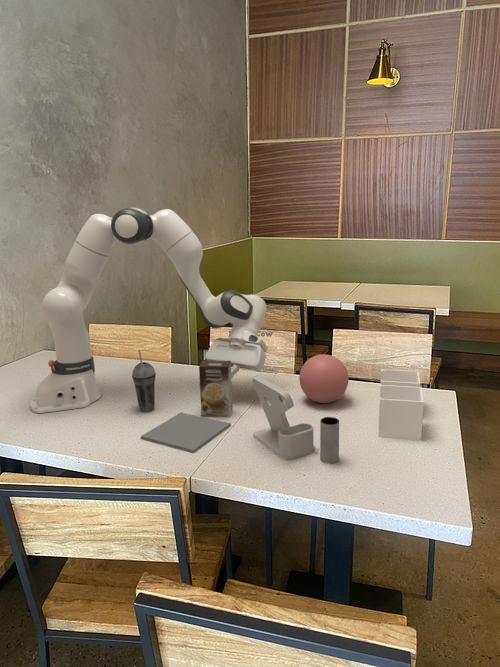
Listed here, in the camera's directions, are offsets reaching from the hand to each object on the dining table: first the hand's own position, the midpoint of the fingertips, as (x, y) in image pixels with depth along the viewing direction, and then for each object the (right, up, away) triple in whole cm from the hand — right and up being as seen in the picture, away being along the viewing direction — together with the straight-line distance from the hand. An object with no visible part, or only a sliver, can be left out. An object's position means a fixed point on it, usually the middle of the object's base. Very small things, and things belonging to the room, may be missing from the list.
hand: (226, 377), depth 155 cm
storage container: (+51, -11, -12) cm, 53 cm away
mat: (-11, -14, -16) cm, 24 cm away
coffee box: (-3, -11, -3) cm, 11 cm away
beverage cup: (-25, -10, +1) cm, 27 cm away
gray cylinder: (+27, -17, -33) cm, 46 cm away
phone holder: (+16, -15, -24) cm, 33 cm away
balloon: (+32, -7, +5) cm, 33 cm away
